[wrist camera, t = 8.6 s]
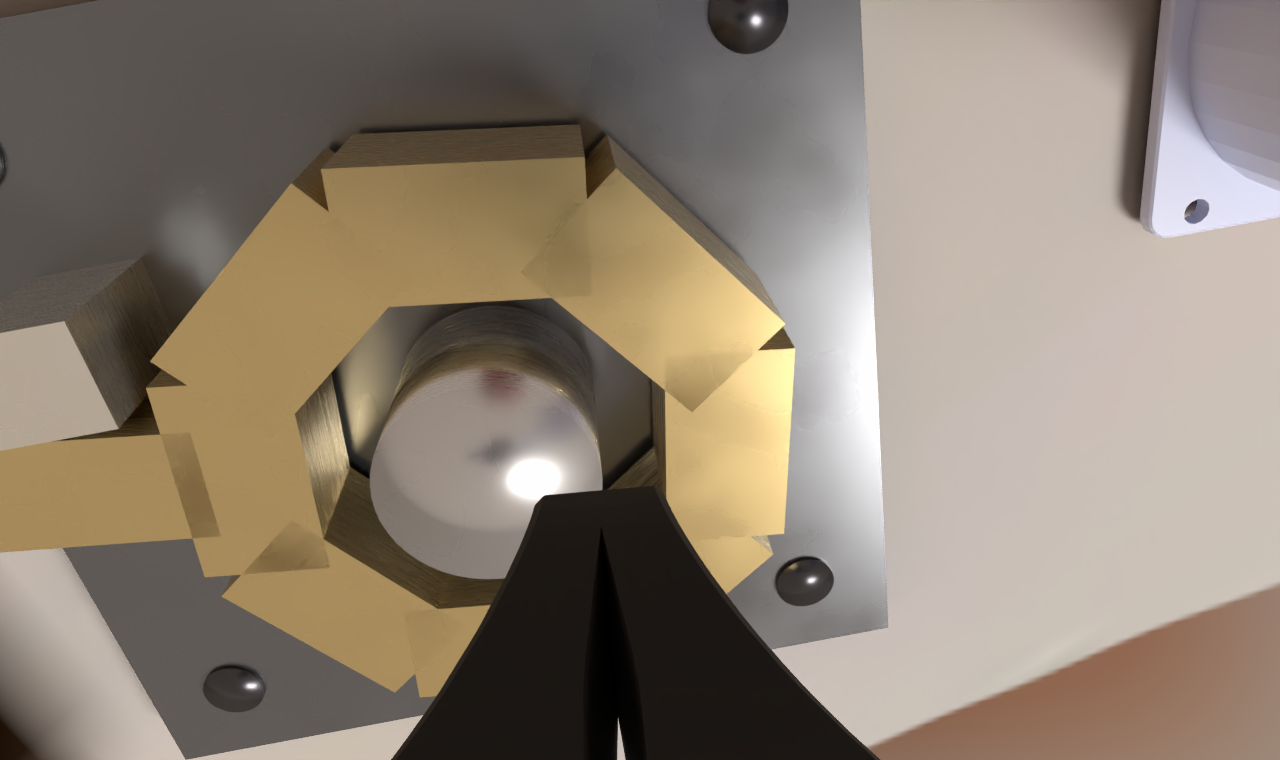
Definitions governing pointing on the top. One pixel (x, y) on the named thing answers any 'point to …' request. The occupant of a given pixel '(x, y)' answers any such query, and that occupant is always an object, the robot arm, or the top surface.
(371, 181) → the handled octagonal ring
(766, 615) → the flange plate
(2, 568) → the top surface
